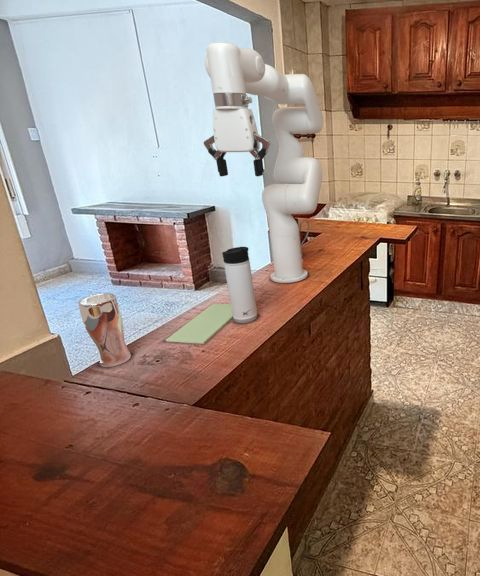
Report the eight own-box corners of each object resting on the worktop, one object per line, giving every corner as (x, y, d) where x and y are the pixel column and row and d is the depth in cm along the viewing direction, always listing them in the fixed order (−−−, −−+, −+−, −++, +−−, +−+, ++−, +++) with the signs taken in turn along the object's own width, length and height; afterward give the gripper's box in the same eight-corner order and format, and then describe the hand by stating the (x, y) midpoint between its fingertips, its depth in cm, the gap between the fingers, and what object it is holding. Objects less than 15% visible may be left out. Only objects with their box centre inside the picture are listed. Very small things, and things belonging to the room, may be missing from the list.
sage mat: (213, 304, 117) (213, 303, 117) (245, 306, 116) (245, 304, 116) (165, 341, 97) (165, 339, 97) (203, 343, 96) (203, 342, 95)
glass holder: (276, 256, 160) (272, 220, 155) (304, 249, 170) (301, 214, 165) (289, 260, 155) (285, 223, 150) (317, 252, 165) (314, 216, 160)
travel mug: (251, 324, 105) (240, 251, 97) (229, 322, 106) (216, 250, 98) (263, 314, 110) (253, 244, 103) (241, 312, 112) (230, 243, 104)
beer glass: (89, 365, 87) (68, 303, 82) (118, 349, 94) (101, 290, 88) (112, 370, 85) (92, 307, 80) (140, 354, 91) (123, 294, 86)
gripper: (271, 103, 98) (279, 174, 105) (206, 104, 101) (217, 174, 107) (258, 101, 91) (267, 177, 98) (189, 102, 94) (202, 177, 100)
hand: (241, 175), depth 102 cm, fingers open, 9 cm apart
